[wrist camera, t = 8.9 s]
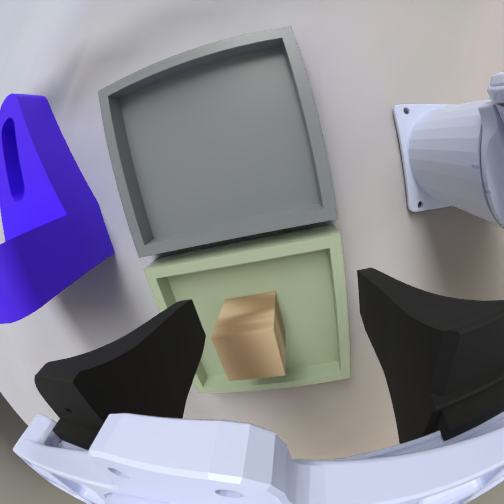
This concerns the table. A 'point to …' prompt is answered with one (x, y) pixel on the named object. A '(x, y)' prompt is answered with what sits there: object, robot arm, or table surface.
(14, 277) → the bracket
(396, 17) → the table surface
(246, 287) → the olive bin
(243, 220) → the charcoal bin
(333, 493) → the robot arm
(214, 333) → the oak block
